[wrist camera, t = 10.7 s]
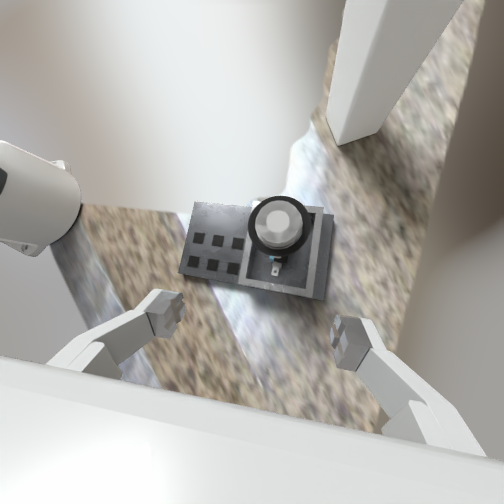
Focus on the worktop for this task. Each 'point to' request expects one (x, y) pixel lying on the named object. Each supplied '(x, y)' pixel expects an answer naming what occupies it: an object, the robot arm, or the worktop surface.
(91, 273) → the worktop surface
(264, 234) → the push button
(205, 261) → the organizer
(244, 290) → the worktop surface
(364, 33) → the white bottle
